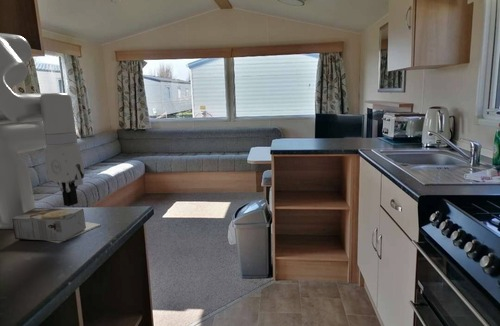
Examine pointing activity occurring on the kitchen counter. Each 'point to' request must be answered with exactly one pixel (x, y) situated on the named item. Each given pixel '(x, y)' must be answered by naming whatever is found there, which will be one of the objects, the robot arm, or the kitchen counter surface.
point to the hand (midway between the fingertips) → (71, 204)
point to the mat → (88, 227)
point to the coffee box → (49, 224)
